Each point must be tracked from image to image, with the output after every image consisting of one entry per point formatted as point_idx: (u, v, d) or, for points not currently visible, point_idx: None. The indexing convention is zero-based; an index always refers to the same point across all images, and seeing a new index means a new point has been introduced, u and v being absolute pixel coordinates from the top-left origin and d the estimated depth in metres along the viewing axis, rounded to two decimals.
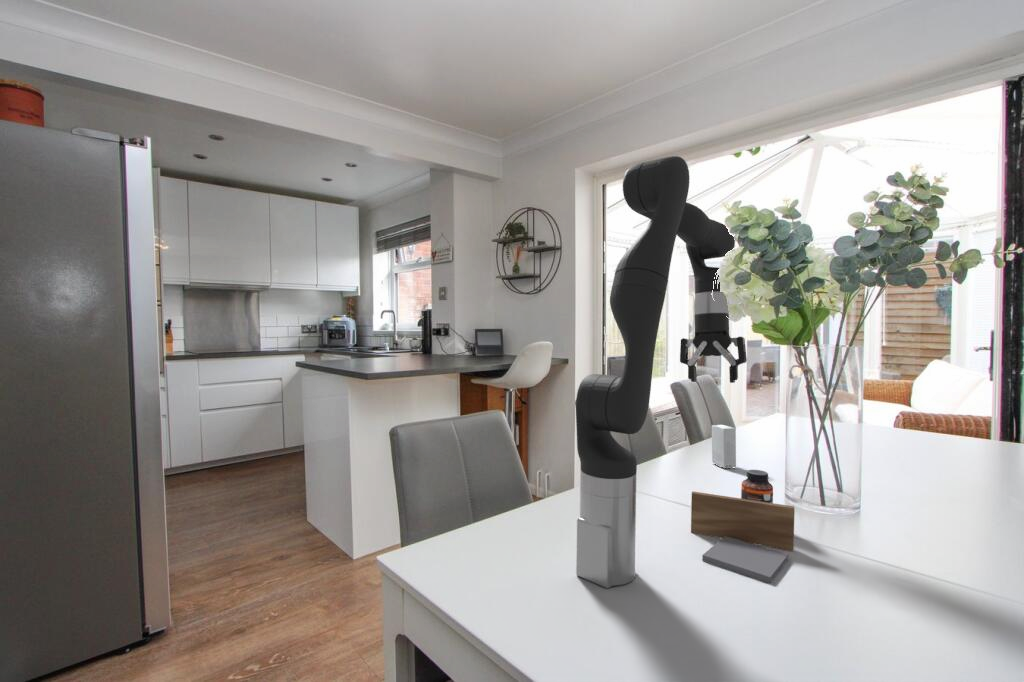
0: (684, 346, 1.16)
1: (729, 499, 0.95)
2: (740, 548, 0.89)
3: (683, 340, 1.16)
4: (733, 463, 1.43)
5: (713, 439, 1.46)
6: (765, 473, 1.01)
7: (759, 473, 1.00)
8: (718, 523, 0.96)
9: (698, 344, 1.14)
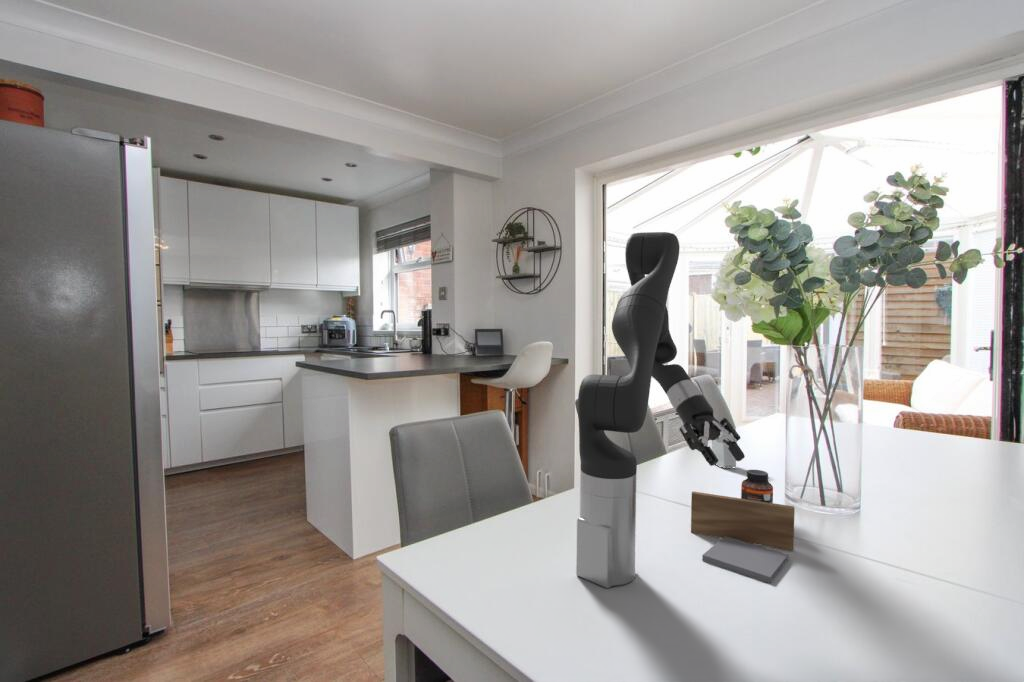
0: (691, 429, 1.09)
1: (729, 499, 0.95)
2: (740, 548, 0.89)
3: (687, 423, 1.10)
4: (733, 463, 1.43)
5: None
6: (765, 473, 1.01)
7: (759, 473, 1.00)
8: (718, 523, 0.96)
9: (700, 426, 1.11)
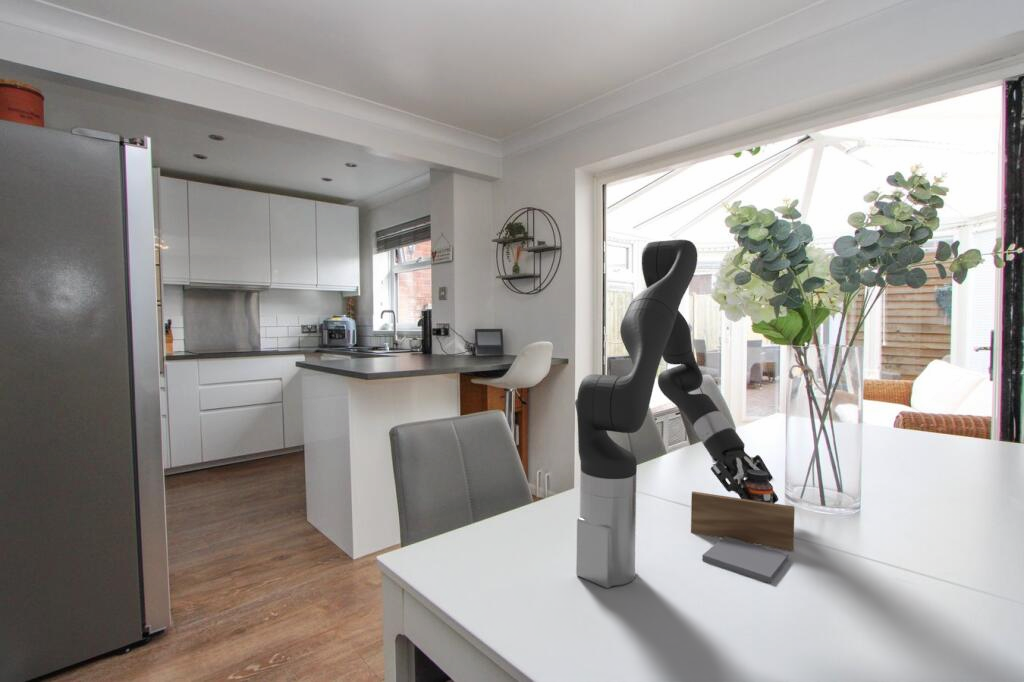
0: (725, 468, 1.02)
1: (729, 499, 0.95)
2: (740, 548, 0.89)
3: (720, 463, 1.03)
4: None
5: None
6: (765, 473, 1.01)
7: (759, 473, 1.00)
8: (718, 523, 0.96)
9: (732, 464, 1.04)
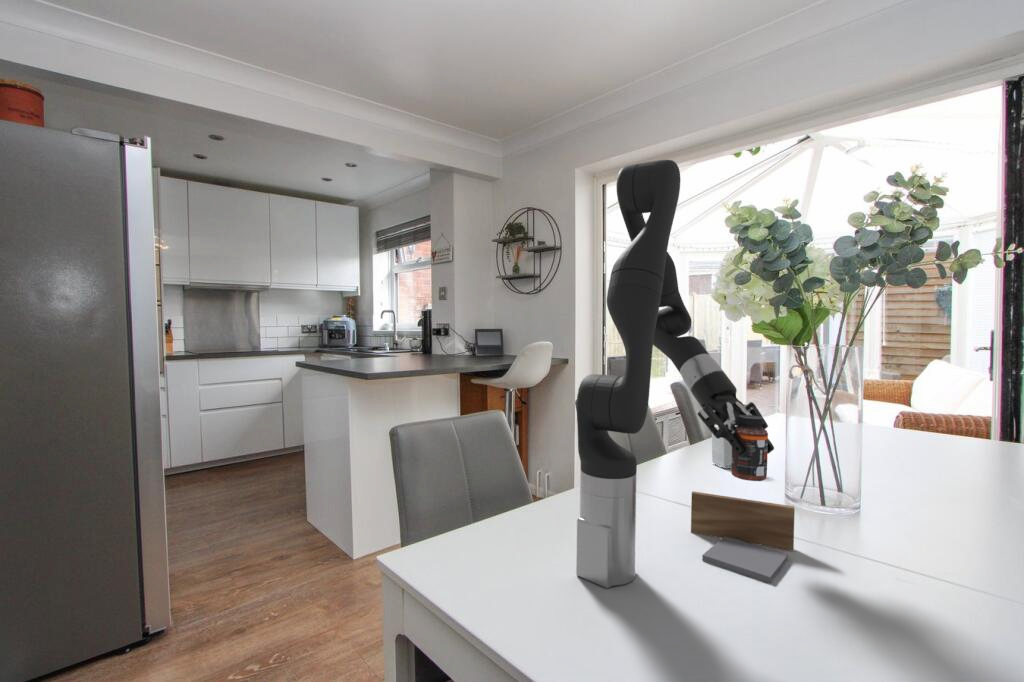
0: (713, 412, 0.90)
1: (729, 499, 0.95)
2: (740, 548, 0.89)
3: (708, 406, 0.90)
4: None
5: (713, 439, 1.46)
6: (759, 417, 0.88)
7: (752, 417, 0.88)
8: (718, 523, 0.96)
9: (722, 409, 0.91)
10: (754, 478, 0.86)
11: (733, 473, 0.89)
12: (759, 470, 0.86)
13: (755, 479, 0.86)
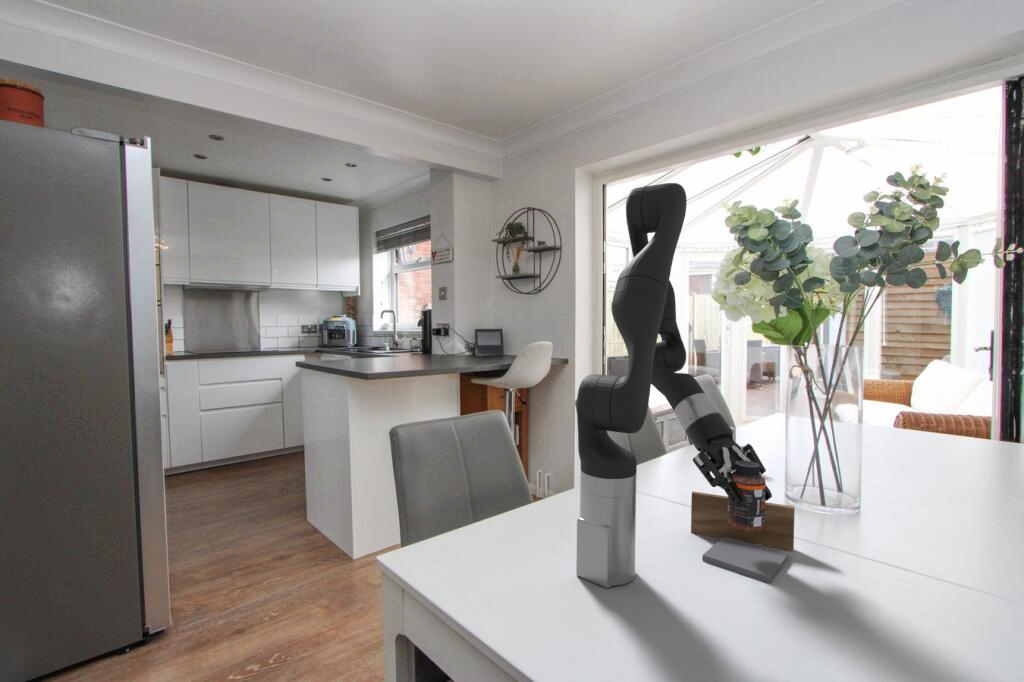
0: (709, 460, 0.86)
1: None
2: (740, 548, 0.89)
3: (703, 453, 0.87)
4: None
5: None
6: (756, 465, 0.85)
7: (749, 465, 0.85)
8: (718, 523, 0.96)
9: (718, 455, 0.88)
10: (751, 529, 0.83)
11: (730, 522, 0.86)
12: (756, 521, 0.83)
13: (752, 530, 0.84)
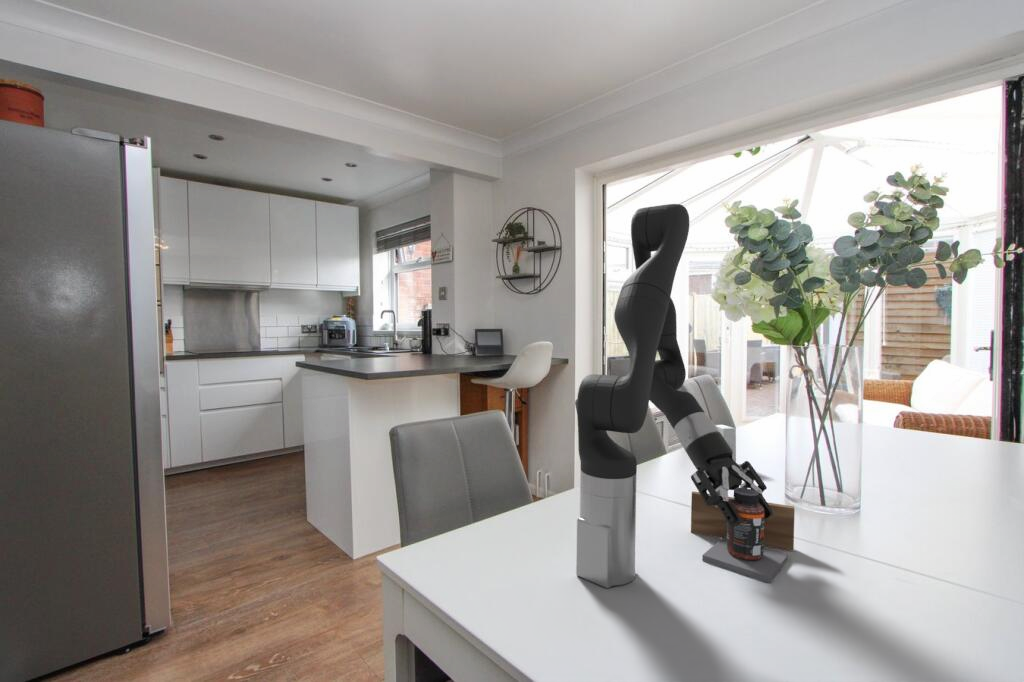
0: (706, 478, 0.87)
1: (729, 499, 0.95)
2: None
3: (701, 471, 0.87)
4: None
5: None
6: (755, 493, 0.85)
7: (748, 493, 0.85)
8: (718, 523, 0.96)
9: (717, 474, 0.88)
10: (750, 558, 0.84)
11: (729, 550, 0.86)
12: (755, 550, 0.83)
13: (751, 559, 0.84)
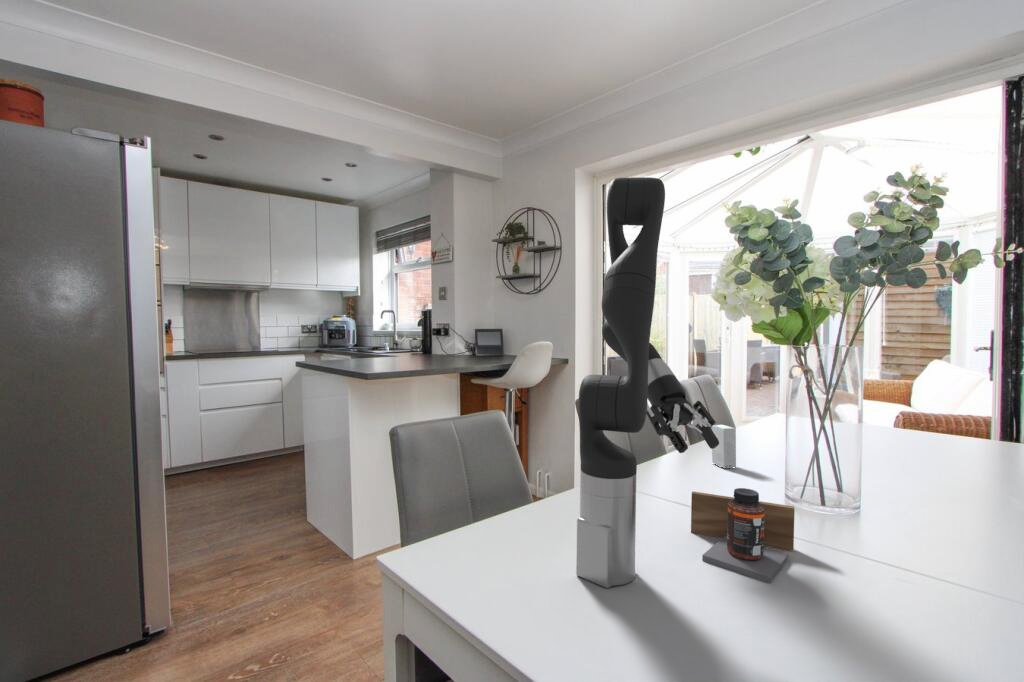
0: (659, 412, 0.97)
1: (729, 499, 0.95)
2: None
3: (655, 406, 0.98)
4: (733, 463, 1.43)
5: None
6: (755, 493, 0.85)
7: (748, 493, 0.85)
8: (718, 523, 0.96)
9: (669, 409, 0.99)
10: (750, 558, 0.84)
11: (729, 550, 0.86)
12: (755, 550, 0.83)
13: (751, 559, 0.84)
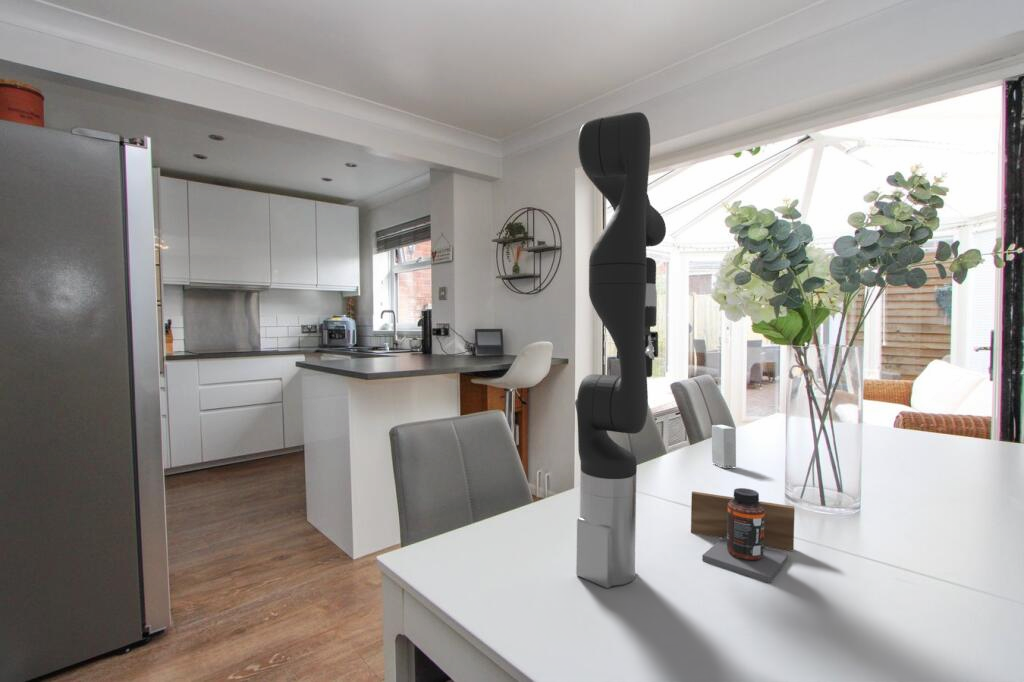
0: None
1: (729, 499, 0.95)
2: None
3: None
4: (733, 463, 1.43)
5: (713, 439, 1.46)
6: (755, 493, 0.85)
7: (748, 493, 0.85)
8: (718, 523, 0.96)
9: None
10: (750, 558, 0.84)
11: (729, 550, 0.86)
12: (755, 550, 0.83)
13: (751, 559, 0.84)
